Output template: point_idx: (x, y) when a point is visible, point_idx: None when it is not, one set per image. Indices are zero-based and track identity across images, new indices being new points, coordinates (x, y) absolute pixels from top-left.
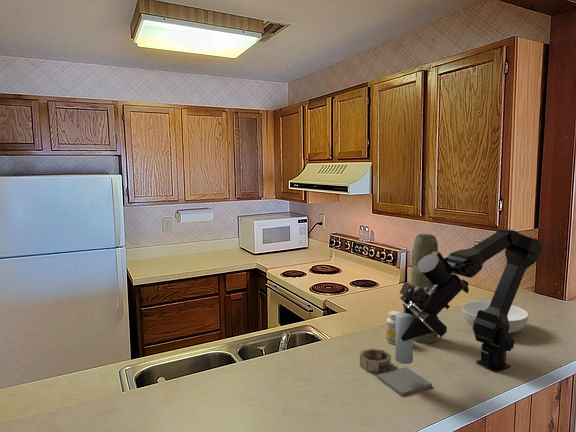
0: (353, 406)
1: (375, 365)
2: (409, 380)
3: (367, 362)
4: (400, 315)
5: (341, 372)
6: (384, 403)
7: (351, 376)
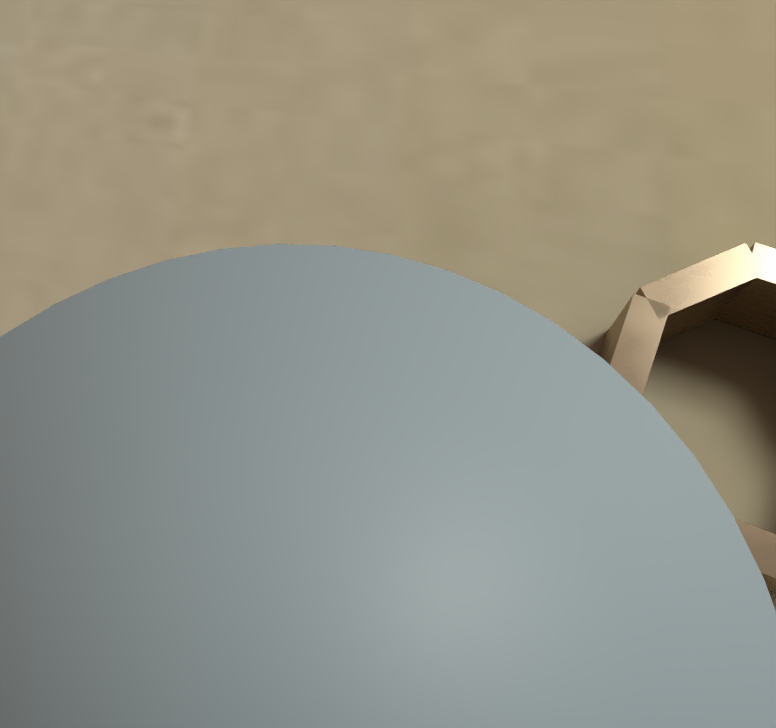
0: (99, 148)
1: None
2: None
3: (630, 302)
4: (349, 499)
5: (581, 129)
6: None
7: (514, 193)
